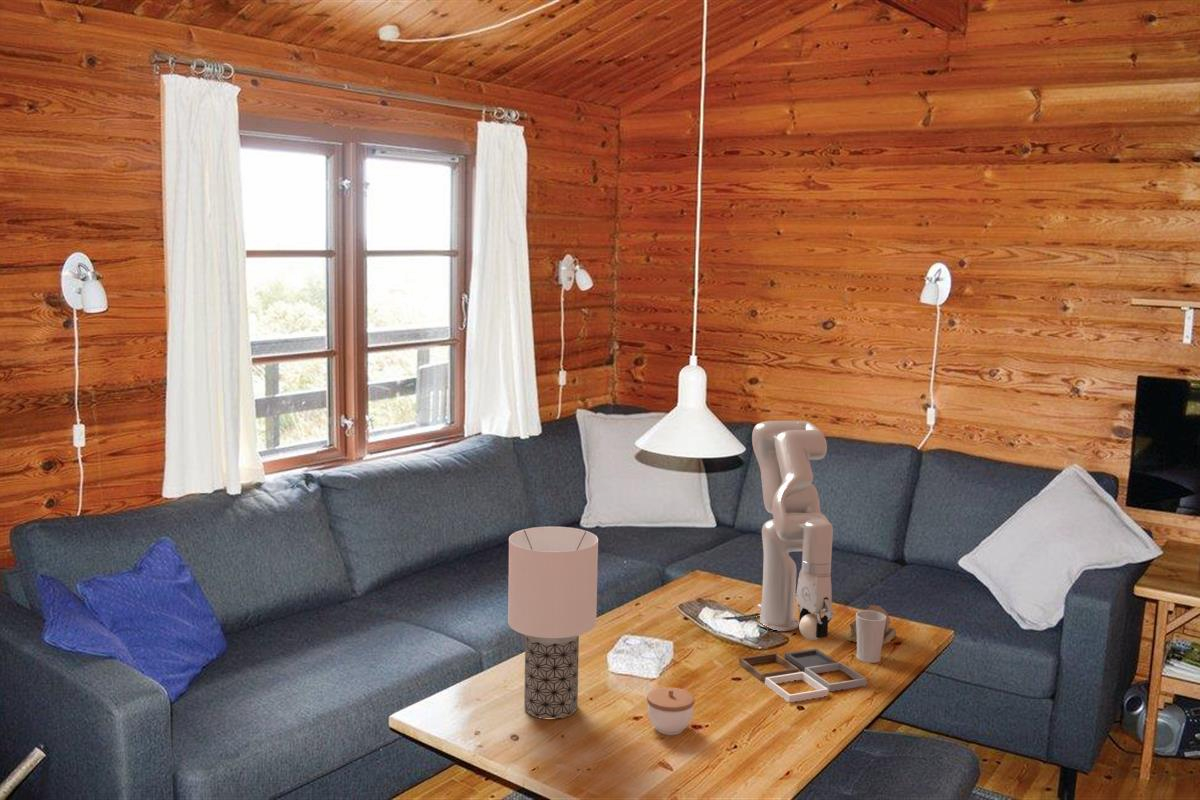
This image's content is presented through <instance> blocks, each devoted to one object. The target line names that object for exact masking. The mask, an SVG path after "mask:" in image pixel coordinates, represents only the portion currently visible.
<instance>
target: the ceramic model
mask: <svg viewBox="0 0 1200 800" xmlns="http://www.w3.org/2000/svg"><path fill="white" fill-rule="evenodd" d="M865 610H869V611H876V612H880V613H882V614H884V615H885V616H886V623H885V629H884V635H883V642H882V646H884V645H883V644H885V643H887V644H888V642H889V643H891V642H892V641H893V640H894V639H895V636H896V634H897V629H896V628H895V627H892V626H890V624H891V623H892V622H891V619H890V617H889V615H888V613H887V611H886V610H885V609H884V608H883V607H882V606H880V605H875V604H873V603H872V604H869V606H868V608H867V609H865ZM849 627H850V631H849V632H847V633H845V639H846V640H847V641H848V640H849V642H851V641H853V643H855V642H857V627H856V619H855V620H853V621H852V622H850V624H849ZM892 639H893V640H892ZM891 640H892V641H891ZM885 645H886V644H885Z"/></svg>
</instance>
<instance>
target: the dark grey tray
mask: <svg viewBox="0 0 1200 800" xmlns="http://www.w3.org/2000/svg"><path fill="white" fill-rule="evenodd" d="M783 658H784V659H785V660H787V661H789V662H790V663H791V664H793V665H794V666H796V667H797V668H798V669H799V671H800V672H804V669H805V668H806V667H812V666H819V665H825V664H831V663H838V662H839V661H837V660H835V659H833V658H832V657H830V656H829V655H828V654H826V653H824V652H822V651H821V650H819V649H818V648H811V649H805V650H804V649H803V650H798V651H792V652H790V651H789V652H785V653H784V657H783Z"/></svg>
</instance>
